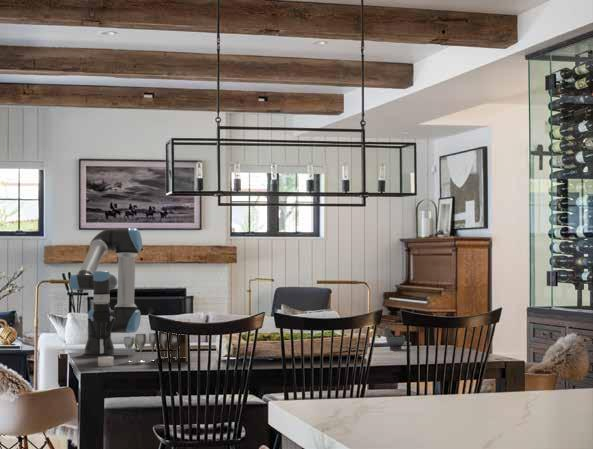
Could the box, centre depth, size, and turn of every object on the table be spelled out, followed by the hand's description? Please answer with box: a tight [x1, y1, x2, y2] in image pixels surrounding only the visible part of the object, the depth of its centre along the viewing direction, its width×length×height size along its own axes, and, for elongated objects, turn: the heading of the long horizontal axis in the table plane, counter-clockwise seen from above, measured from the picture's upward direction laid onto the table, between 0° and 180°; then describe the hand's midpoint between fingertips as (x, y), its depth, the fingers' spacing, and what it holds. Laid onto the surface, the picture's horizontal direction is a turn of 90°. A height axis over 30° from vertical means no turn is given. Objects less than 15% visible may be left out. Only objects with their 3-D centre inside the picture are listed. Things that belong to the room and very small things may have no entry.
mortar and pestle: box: [383, 326, 406, 351], centre depth 500 cm, size 11×9×12 cm
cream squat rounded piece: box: [97, 355, 115, 367], centre depth 440 cm, size 7×7×4 cm
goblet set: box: [123, 332, 182, 363], centre depth 457 cm, size 28×6×13 cm, turn 110°
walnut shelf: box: [159, 318, 191, 363], centre depth 456 cm, size 20×16×19 cm
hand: (101, 353), depth 453 cm, fingers closed
